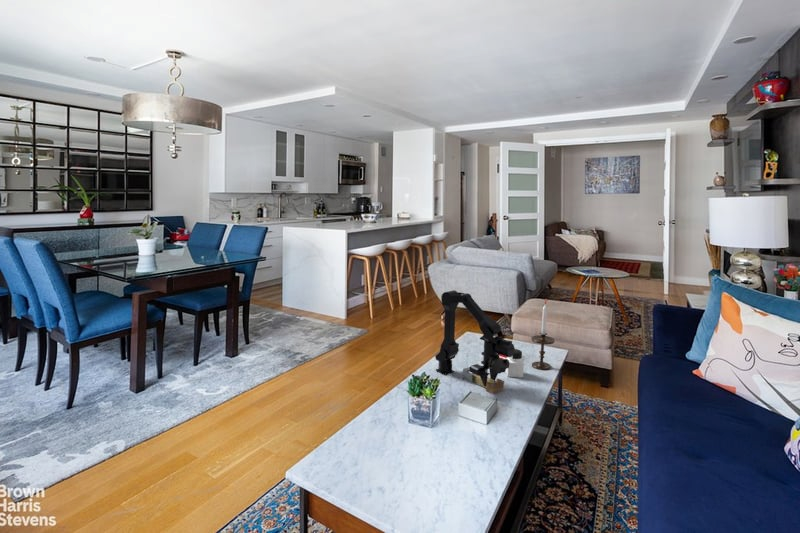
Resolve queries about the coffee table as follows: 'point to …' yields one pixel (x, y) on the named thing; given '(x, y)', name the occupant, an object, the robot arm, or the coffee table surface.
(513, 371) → the medicine bottle
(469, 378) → the sleeve
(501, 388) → the socket
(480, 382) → the bar
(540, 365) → the candlestick
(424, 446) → the coffee table surface
